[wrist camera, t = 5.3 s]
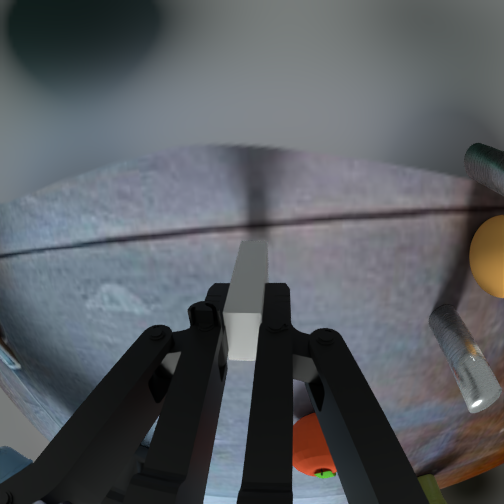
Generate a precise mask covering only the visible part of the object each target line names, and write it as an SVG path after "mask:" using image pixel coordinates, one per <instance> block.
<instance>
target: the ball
mask: <svg viewBox="0 0 504 504" xmlns="http://www.w3.org/2000/svg"><path fill="white" fill-rule="evenodd" d="M469 260H470V267H471V271H472V274H473V276H474V278H475V280H476V282H477V283H478V285H479V286H480V287H481V288H482V289H483V290H484V291H485V292H487V293H488V294H490V295H492V296H495V297H499V298H504V215H498V216H495V217H492V218H490V219H488V220H487V221H485V222H484V223H483V224H482V225H481V226H480V227H479V228H478V230H477V231H476V233H475V235H474V237H473V239H472V242H471V246H470V253H469Z"/></svg>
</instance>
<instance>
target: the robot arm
mask: <svg viewBox="0 0 504 504" xmlns="http://www.w3.org/2000/svg"><path fill="white" fill-rule="evenodd" d="M188 315H189V320H190V325H191V326H190V328H189V329H186V330H183V331H177V332H172V330H171V329H170V328H169V327H167V326H165V325H154V326H151V327H149V328H147V329H146V330H145V331H144V332H143V333H142V334H141V335H140V337H139V338H138V339H137V340H136V341H135V342H134V343H133V345H132V346H131V347H130V348H129V349H128V350H127V351H126V353H125V354H124V355H123V356H122V357H121V358H120V360H119V361H118V362H117V363H116V364H115V365H114V366H113V368H112V369H111V370H110V371H109V372H108V374H107V375H106V376H105V377H104V378H103V379H102V381H101V382H100V383H99V384H98V385H97V386H96V388H95V389H94V390H93V391H92V392H91V394H90V395H89V396H88V397H87V398H86V400H85V401H84V402H83V403H82V404H81V405H80V407H79V408H78V409H77V410H76V411H75V413H74V414H73V415H72V416H71V418H70V419H69V420H68V421H67V422H66V424H65V425H64V426H63V427H62V428H61V430H60V431H59V432H58V433H57V435H56V436H55V437H54V438H53V440H52V441H51V442H50V443H49V445H48V446H47V447H46V448H45V450H44V451H43V452H42V453H41V455H40V456H39V457H38V458H37V459H36V461H35V462H34V463H33V461H32V460H31V459H28V458H26V457H24V456H23V455H21V454H20V453H18V452H17V451H16V450H14V449H12V448H11V447H8V446H3V447H0V504H203V500H204V495H205V489H206V484H207V478H208V473H209V467H210V462H211V456H212V451H213V445H214V440H215V435H216V429H217V424H218V418H219V413H220V407H221V402H222V396H223V391H224V386H225V380H226V375H227V369H228V368H227V356H229V360H244V361H256V362H255V371H254V381H253V390H252V399H251V408H250V417H249V426H248V434H247V443H246V451H245V460H244V468H243V476H242V484H241V488H240V490H239V493H238V498H237V504H293V492H292V465H293V379H296V380H299V381H303V382H305V386H306V389H307V391H308V394H309V397H310V400H311V402H312V405H313V408H314V410H315V413H316V416H317V418H318V421H319V424H320V427H321V429H322V432H323V435H324V437H325V440H326V443H327V446H328V448H329V451H330V454H331V456H332V459H333V462H334V465H335V467H336V470H337V473H338V476H339V478H340V481H341V484H342V486H343V489H344V492H345V495H346V497H347V500H348V503H349V504H430V503H429V501H428V499H427V497H426V495H425V493H424V491H423V489H422V487H421V485H420V483H419V481H418V479H417V477H416V474H415V472H414V470H413V468H412V466H411V464H410V463H409V461H408V459H407V457H406V455H405V453H404V451H403V449H402V447H401V445H400V443H399V441H398V439H397V437H396V435H395V433H394V431H393V429H392V428H391V426H390V424H389V422H388V420H387V418H386V416H385V414H384V412H383V410H382V409H381V407H380V405H379V403H378V401H377V399H376V397H375V396H374V394H373V392H372V390H371V388H370V386H369V385H368V383H367V381H366V379H365V377H364V375H363V374H362V372H361V370H360V368H359V366H358V365H357V363H356V361H355V359H354V357H353V356H352V354H351V352H350V350H349V348H348V347H347V345H346V343H345V341H344V340H343V338H342V336H341V335H340V334H339V333H338V332H337V331H335V330H333V329H328V328H320V329H317V330H315V331H313V332H312V333H311V334H306V333H302V332H300V331H298V330H296V329H295V328H294V327H293V325H292V324H291V307H290V288H289V287H288V286H287V284H286V283H268V241H241V244H240V248H239V252H238V256H237V260H236V263H235V267H234V271H233V275H232V279H231V283H215V284H214V285H212V286H211V287H210V288H209V290H208V293H207V296H206V299H205V301H200V302H197V303H194V304H193V305H191V306H190V307H189V308H188ZM159 415H160V416H159ZM158 416H159V419H158V422H157V425H156V428H155V431H154V434H153V437H152V440H151V443H150V446H149V449H148V448H146V447H143V446H141V445H140V444H141V442H142V441H143V439H144V438H145V436H146V435H147V433H148V432H149V430H150V428H151V427H152V425H153V424H154V422H155V421H156V419H157V418H158Z"/></svg>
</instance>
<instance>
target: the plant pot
mask: <svg viewBox="0 0 504 504" xmlns="http://www.w3.org/2000/svg"><path fill="white" fill-rule="evenodd" d="M417 479H418V481H419V483H420V485H421V487H422V489H423V491H424V493H425V495H426V497H427V499H428V501H429V503H430V504H447V503H446V501H445V499H443V496H442V494H441V492H440V489H439V487H438V484H437V482H436V480H435V477H434V475H431V474H427V475H423V476H419V477H417Z"/></svg>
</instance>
